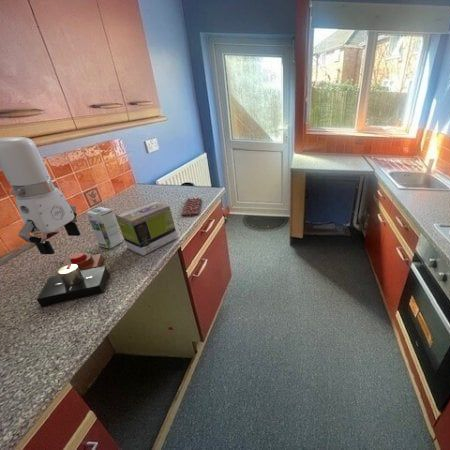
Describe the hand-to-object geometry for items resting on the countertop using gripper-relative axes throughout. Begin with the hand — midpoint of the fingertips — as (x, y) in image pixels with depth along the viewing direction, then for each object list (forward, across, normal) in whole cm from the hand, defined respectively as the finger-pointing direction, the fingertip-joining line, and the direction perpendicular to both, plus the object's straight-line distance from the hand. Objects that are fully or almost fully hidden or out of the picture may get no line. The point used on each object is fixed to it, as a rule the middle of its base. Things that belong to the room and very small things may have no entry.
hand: (62, 244), depth 72 cm
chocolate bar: (+14, +56, -17) cm, 60 cm away
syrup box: (+14, +21, +3) cm, 26 cm away
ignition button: (+10, +6, +3) cm, 12 cm away
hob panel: (+14, -4, -2) cm, 14 cm away
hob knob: (+11, -4, -2) cm, 11 cm away
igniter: (+14, +6, +3) cm, 15 cm away
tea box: (+14, +22, -12) cm, 29 cm away
